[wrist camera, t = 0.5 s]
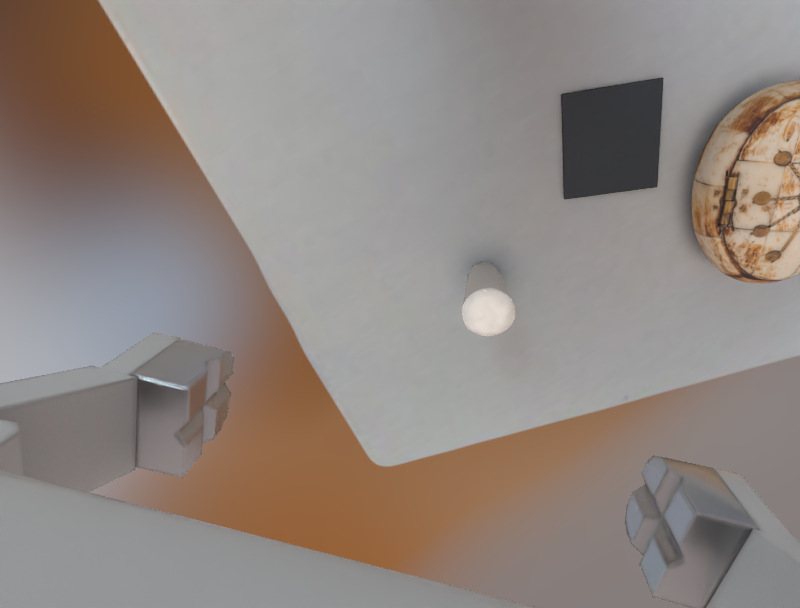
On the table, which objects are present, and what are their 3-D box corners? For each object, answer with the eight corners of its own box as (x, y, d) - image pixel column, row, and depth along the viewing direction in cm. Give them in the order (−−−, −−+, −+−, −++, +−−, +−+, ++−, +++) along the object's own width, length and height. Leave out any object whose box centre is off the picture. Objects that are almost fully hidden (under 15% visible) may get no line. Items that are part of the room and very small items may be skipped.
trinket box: (714, 283, 48) (758, 321, 41) (639, 157, 44) (674, 176, 37) (866, 200, 44) (945, 227, 37) (798, 50, 39) (873, 49, 32)
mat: (561, 94, 42) (562, 94, 42) (661, 77, 41) (663, 77, 41) (563, 198, 46) (564, 199, 46) (655, 186, 45) (657, 187, 45)
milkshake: (503, 244, 49) (513, 286, 40) (508, 293, 51) (520, 343, 42) (456, 251, 50) (457, 293, 41) (464, 299, 52) (466, 349, 43)
